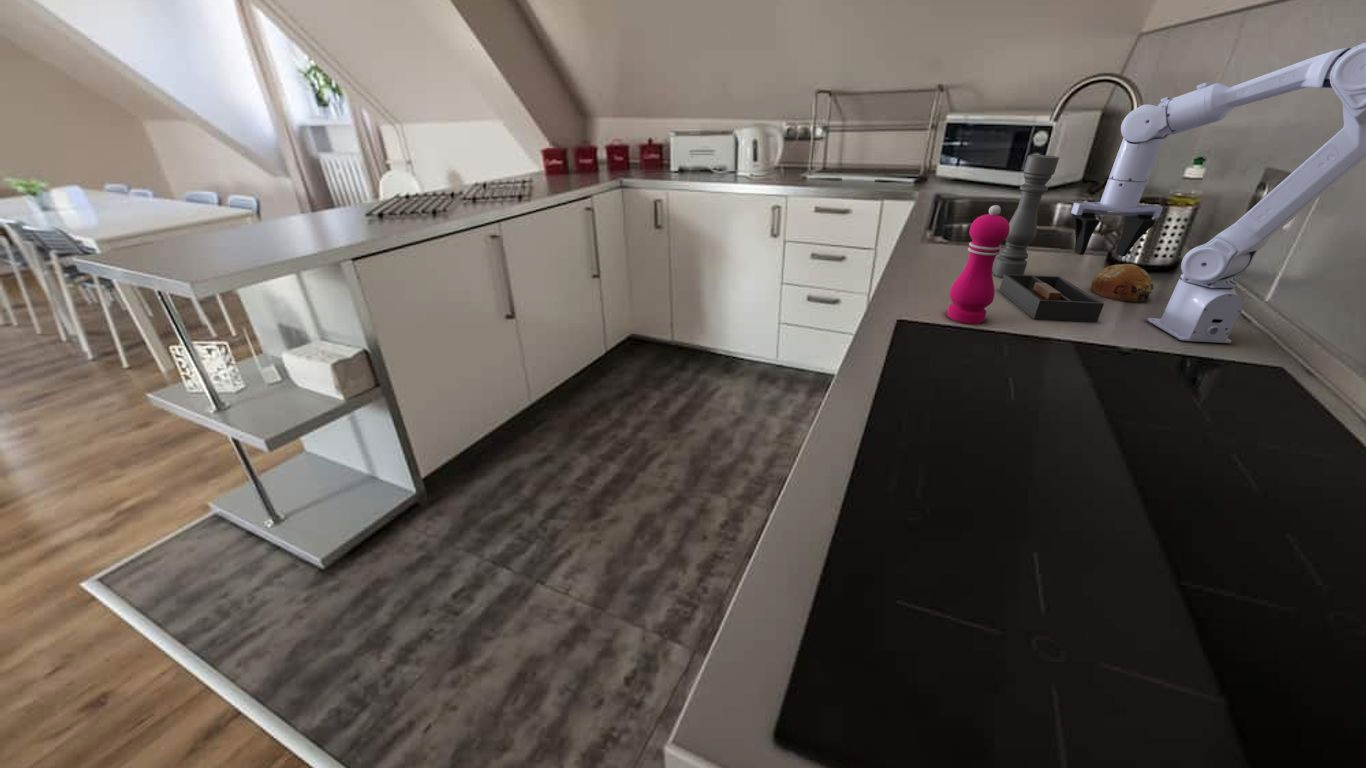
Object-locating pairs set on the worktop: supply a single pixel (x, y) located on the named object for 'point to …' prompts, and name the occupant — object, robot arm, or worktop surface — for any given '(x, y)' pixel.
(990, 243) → the pepper mill
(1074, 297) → the organizer
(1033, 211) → the candle holder
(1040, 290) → the brown block
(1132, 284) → the bread roll
